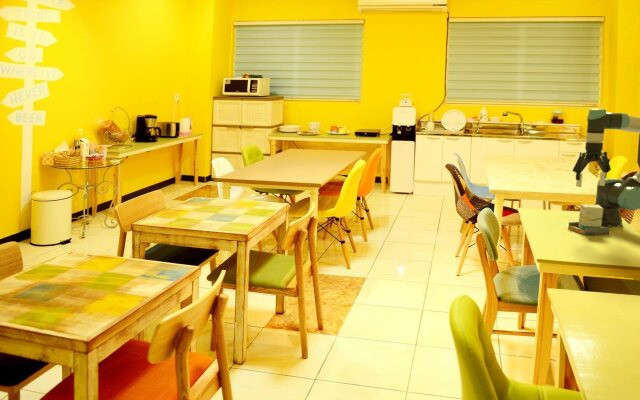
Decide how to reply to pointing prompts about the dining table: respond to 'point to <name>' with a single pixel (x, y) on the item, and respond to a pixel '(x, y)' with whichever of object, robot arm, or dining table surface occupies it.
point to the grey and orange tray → (588, 230)
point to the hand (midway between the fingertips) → (590, 186)
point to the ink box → (590, 216)
